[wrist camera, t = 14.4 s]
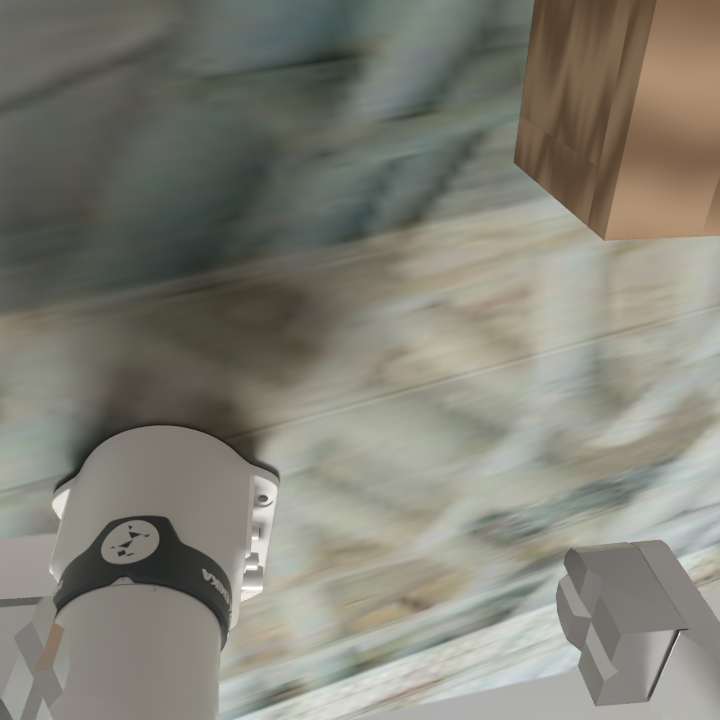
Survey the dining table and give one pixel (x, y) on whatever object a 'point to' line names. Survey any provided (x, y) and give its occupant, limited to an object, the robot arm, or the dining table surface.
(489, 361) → the dining table surface
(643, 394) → the dining table surface
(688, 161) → the notched shelf
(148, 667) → the robot arm
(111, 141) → the dining table surface
